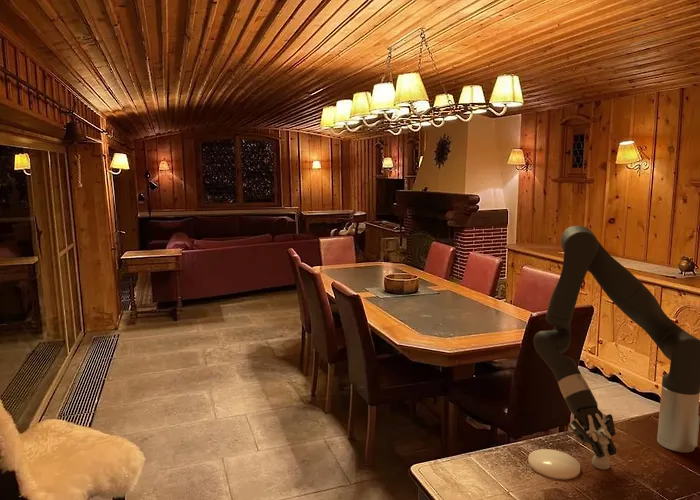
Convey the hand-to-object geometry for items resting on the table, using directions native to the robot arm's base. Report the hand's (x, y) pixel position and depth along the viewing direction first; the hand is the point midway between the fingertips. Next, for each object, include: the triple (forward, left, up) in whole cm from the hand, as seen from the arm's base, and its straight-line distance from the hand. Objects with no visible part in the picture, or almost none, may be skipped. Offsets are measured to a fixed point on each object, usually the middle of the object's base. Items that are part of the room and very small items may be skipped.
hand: (607, 455), depth 134 cm
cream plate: (+12, -6, -4) cm, 14 cm away
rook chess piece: (0, -2, -4) cm, 5 cm away
